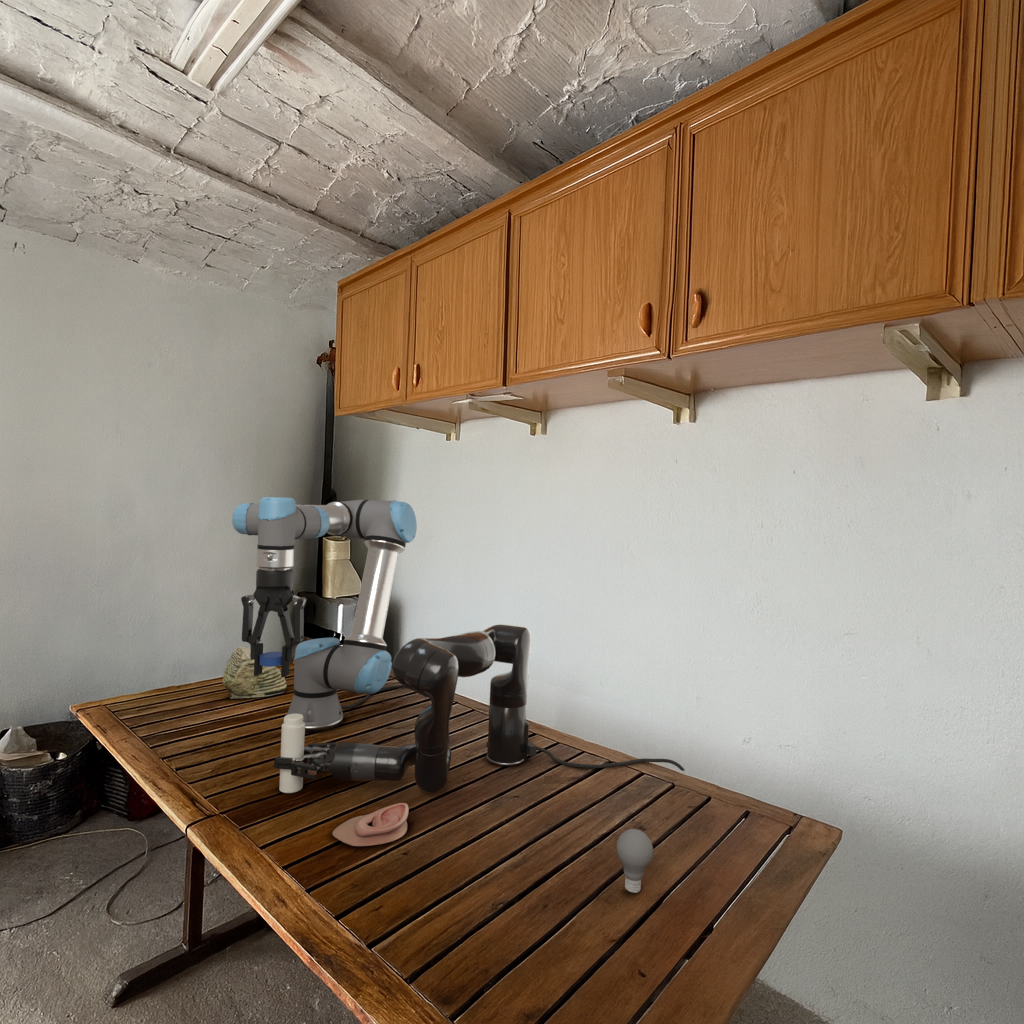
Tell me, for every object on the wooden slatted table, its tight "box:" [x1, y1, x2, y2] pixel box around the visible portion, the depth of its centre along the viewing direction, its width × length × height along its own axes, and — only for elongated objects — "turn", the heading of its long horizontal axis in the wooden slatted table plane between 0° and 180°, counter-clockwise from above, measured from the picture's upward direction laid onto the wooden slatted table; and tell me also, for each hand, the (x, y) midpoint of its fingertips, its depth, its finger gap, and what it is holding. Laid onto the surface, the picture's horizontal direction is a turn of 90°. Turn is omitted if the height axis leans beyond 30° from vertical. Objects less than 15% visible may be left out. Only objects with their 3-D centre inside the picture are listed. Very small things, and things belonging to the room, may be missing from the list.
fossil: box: [222, 646, 288, 699], centre depth 198 cm, size 9×18×15 cm, turn 132°
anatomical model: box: [332, 802, 410, 847], centre depth 121 cm, size 13×4×12 cm
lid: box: [259, 651, 282, 667], centre depth 138 cm, size 5×5×2 cm
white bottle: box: [278, 714, 306, 794], centre depth 137 cm, size 5×5×16 cm
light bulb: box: [615, 828, 654, 894], centre depth 106 cm, size 6×6×10 cm
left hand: (271, 674), depth 138 cm, fingers closed on lid, 5 cm apart
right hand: (280, 757), depth 137 cm, fingers closed on white bottle, 4 cm apart
